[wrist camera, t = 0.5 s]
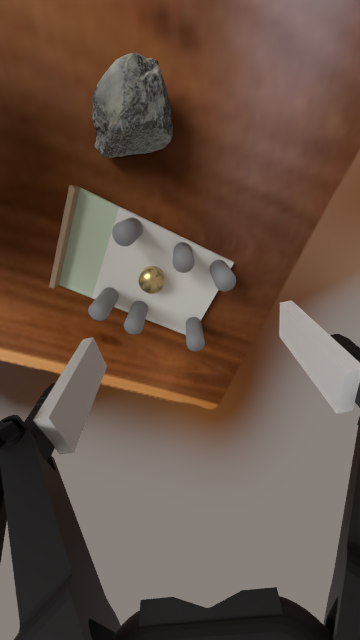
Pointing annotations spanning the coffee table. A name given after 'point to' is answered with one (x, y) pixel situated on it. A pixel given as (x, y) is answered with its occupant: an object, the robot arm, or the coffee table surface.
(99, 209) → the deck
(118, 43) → the coffee table surface
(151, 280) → the brass dome
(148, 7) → the coffee table surface
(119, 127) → the stone
